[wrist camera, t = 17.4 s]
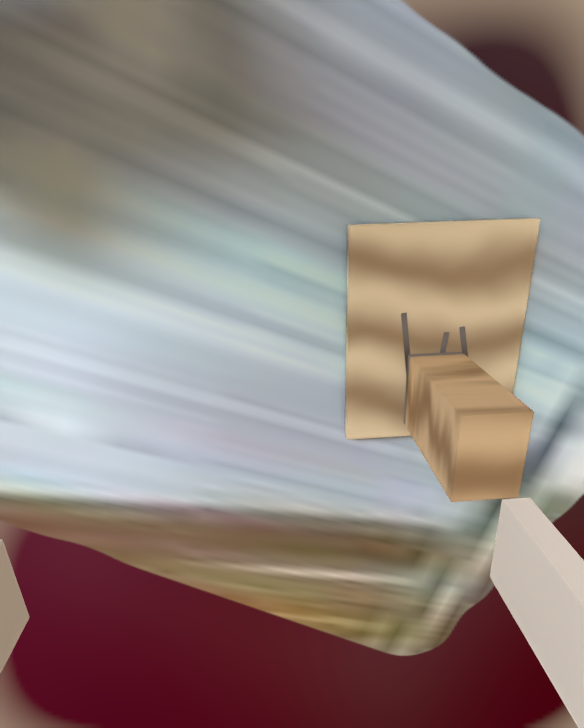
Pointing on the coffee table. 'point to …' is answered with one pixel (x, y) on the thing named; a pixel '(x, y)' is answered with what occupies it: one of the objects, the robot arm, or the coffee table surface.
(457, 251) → the board
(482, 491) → the block
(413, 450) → the coffee table surface
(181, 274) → the coffee table surface
